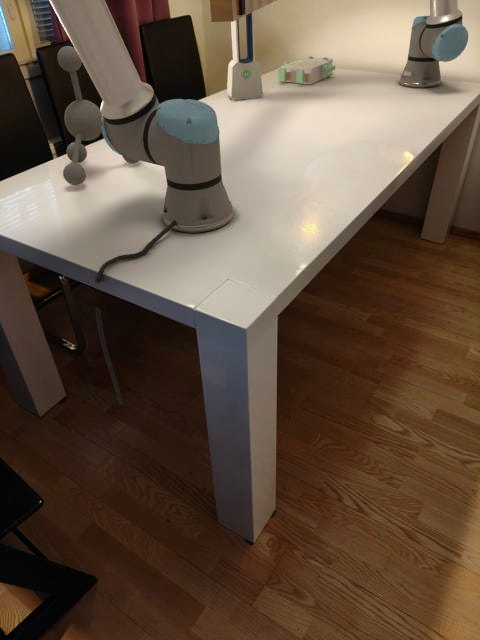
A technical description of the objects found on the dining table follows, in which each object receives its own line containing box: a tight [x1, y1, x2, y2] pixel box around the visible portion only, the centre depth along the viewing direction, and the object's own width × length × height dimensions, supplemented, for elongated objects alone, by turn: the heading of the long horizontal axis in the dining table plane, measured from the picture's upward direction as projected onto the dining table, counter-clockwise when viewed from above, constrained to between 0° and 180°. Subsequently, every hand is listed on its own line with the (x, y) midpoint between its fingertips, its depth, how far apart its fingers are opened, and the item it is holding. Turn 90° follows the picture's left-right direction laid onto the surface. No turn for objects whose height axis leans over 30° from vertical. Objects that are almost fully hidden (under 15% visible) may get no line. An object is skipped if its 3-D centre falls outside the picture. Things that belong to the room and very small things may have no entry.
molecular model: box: [57, 45, 140, 186], centre depth 125 cm, size 24×22×30 cm
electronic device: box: [226, 11, 264, 101], centre depth 179 cm, size 12×8×30 cm, turn 105°
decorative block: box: [277, 55, 336, 85], centre depth 206 cm, size 26×6×20 cm
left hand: (230, 14), depth 113 cm, fingers closed on post, 5 cm apart
